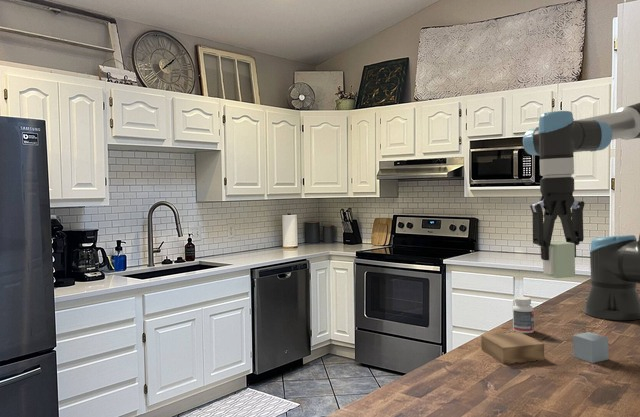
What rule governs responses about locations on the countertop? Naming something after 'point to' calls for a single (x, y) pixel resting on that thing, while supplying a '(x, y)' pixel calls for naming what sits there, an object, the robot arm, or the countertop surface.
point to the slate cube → (590, 347)
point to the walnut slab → (512, 347)
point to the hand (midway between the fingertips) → (559, 272)
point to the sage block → (562, 259)
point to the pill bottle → (523, 315)
